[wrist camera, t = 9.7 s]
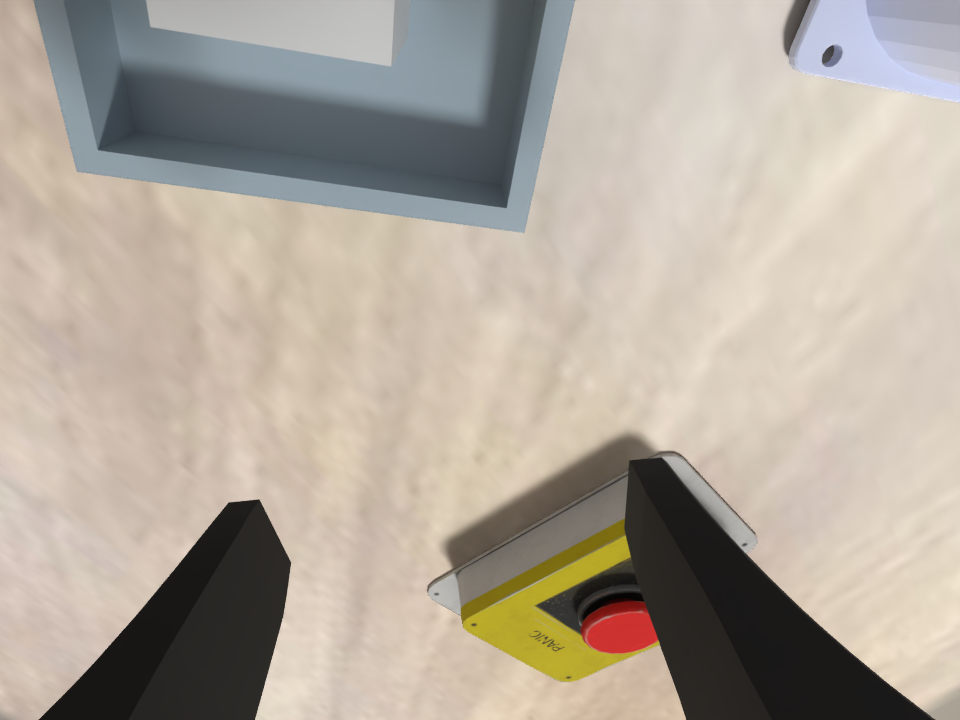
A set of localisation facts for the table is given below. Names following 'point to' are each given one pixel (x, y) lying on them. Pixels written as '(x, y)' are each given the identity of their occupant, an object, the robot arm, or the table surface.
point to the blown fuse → (295, 24)
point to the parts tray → (318, 109)
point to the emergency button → (570, 583)
